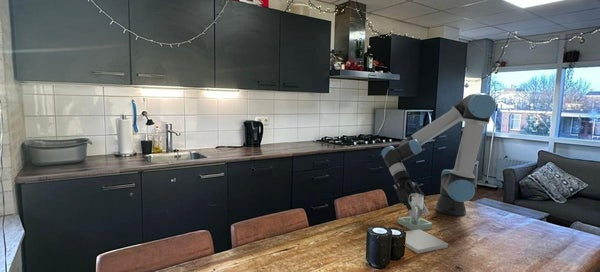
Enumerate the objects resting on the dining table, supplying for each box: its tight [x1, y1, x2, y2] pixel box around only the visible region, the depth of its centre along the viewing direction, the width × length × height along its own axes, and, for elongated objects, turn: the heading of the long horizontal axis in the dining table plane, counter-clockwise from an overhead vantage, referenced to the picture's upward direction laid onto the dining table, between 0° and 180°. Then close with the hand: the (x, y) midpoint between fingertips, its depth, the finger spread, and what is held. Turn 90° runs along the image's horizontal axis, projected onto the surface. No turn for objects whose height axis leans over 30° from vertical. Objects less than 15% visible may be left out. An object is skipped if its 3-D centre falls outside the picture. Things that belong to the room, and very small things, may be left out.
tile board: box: [405, 229, 449, 254], centre depth 134 cm, size 16×16×2 cm
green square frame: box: [397, 216, 433, 231], centre depth 152 cm, size 11×11×2 cm
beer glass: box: [408, 193, 425, 225], centre depth 152 cm, size 7×7×15 cm
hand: (421, 215), depth 149 cm, fingers closed on beer glass, 7 cm apart
